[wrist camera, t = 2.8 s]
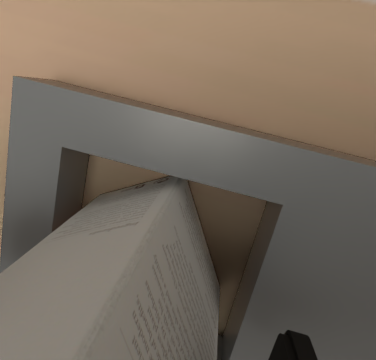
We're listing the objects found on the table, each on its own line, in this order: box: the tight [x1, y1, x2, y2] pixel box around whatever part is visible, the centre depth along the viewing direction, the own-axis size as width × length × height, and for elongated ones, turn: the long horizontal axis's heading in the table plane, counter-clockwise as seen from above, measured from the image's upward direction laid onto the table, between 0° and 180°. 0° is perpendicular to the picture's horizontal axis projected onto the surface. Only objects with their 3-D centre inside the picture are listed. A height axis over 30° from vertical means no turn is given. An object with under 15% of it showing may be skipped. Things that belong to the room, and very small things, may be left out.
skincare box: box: [0, 176, 220, 360], centre depth 8 cm, size 6×4×12 cm
